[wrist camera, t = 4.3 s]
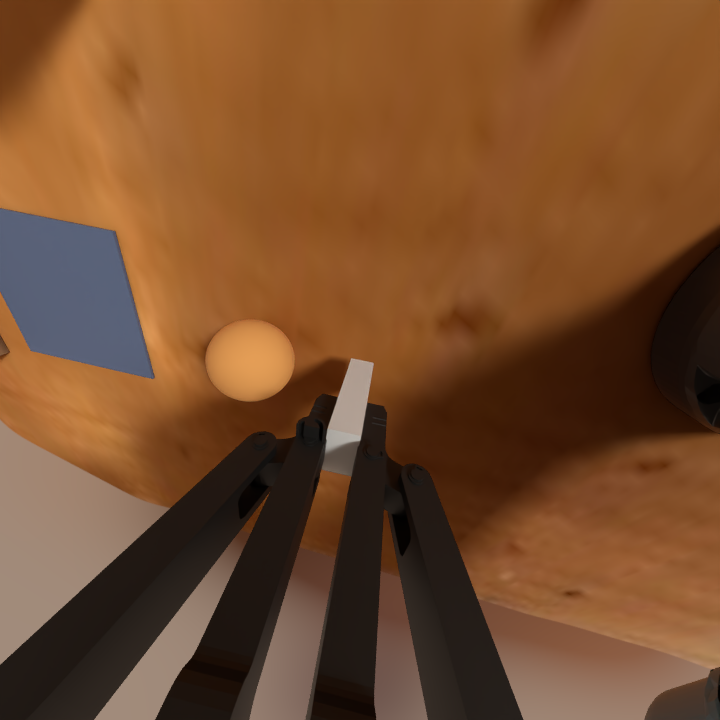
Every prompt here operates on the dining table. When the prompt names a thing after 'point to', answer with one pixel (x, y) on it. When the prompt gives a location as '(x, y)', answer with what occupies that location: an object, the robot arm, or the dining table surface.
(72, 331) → the navy mark
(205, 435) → the dining table surface
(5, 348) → the brown wooden bar
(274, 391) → the ball
